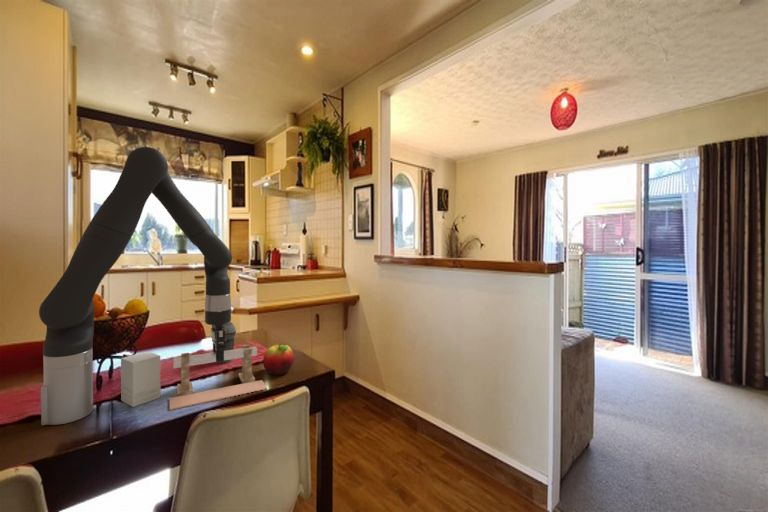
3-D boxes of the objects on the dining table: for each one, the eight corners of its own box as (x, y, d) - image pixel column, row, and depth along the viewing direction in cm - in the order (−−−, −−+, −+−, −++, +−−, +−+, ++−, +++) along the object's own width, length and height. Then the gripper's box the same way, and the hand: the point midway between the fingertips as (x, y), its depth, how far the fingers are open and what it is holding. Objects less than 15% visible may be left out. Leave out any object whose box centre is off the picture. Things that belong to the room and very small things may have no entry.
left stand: (177, 396, 98) (177, 360, 98) (177, 387, 103) (177, 353, 103) (193, 393, 100) (193, 357, 100) (191, 385, 106) (192, 351, 105)
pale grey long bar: (173, 368, 99) (173, 360, 99) (173, 365, 101) (173, 358, 101) (257, 355, 112) (257, 348, 112) (255, 353, 114) (255, 346, 114)
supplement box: (161, 397, 97) (161, 355, 97) (132, 408, 91) (132, 363, 90) (149, 390, 101) (149, 350, 100) (120, 400, 95) (119, 357, 94)
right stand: (242, 383, 108) (242, 350, 107) (238, 376, 113) (239, 345, 113) (254, 381, 110) (255, 348, 110) (251, 374, 116) (251, 343, 115)
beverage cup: (227, 365, 122) (228, 312, 121) (210, 363, 123) (210, 311, 122) (239, 359, 129) (240, 308, 128) (223, 357, 131) (224, 307, 130)
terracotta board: (169, 410, 90) (169, 408, 90) (169, 399, 96) (169, 398, 96) (267, 389, 104) (267, 388, 104) (262, 381, 110) (262, 379, 110)
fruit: (284, 363, 126) (285, 338, 126) (299, 372, 119) (300, 345, 118) (257, 370, 119) (257, 343, 118) (271, 380, 111) (271, 351, 110)
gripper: (203, 304, 109) (203, 352, 110) (207, 313, 98) (207, 367, 98) (227, 302, 114) (227, 348, 114) (234, 311, 102) (234, 362, 103)
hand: (218, 357), depth 106 cm, fingers open, 8 cm apart
